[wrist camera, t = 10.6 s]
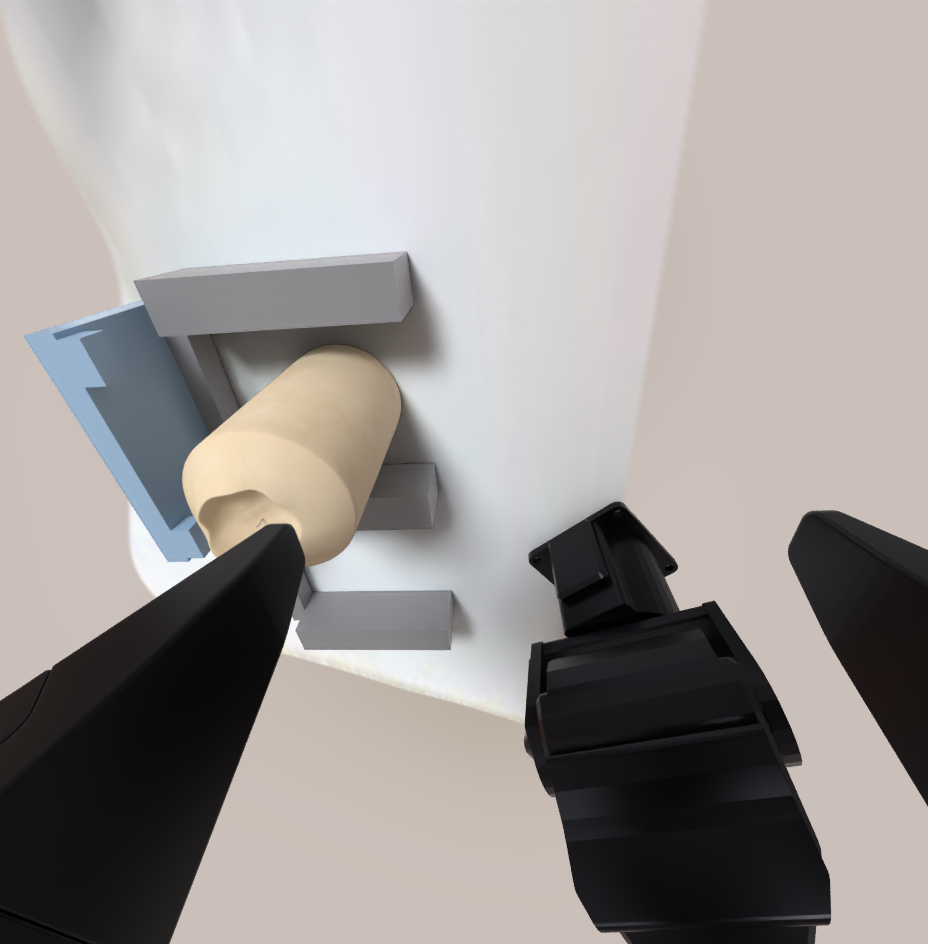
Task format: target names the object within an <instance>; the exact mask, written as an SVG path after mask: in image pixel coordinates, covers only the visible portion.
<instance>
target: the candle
mask: <svg viewBox="0 0 928 944" xmlns="http://www.w3.org/2000/svg"><path fill="white" fill-rule="evenodd" d="M400 414H401V398H400V393H399V390H398V387H397V384H396V382H395V380H394V378H393V377H392V375H391V374H390V372H389V371H388V370H387V368H386V367H385V366H384V365H383V364H382V363H381V362H380V361H379V360H377V359H376V358H375V357H373V356H372V355H370V354H368V353H367V352H365V351H363V350H360V349H358V348H355V347H352V346H347V345H336V344H334V345H326V346H322V347H318V348H316V349H313V350H311V351H309V352H307V353H306V354H304V355H303V356H302V357H300V358H299V359H298V360H296V361H295V362H294V363H293V364H292V365H291V366H289V367H288V368H287V369H286V370H285V371H284V372H282V373H281V374H280V375H279V376H278V377H277V378H275V379H274V380H273V381H272V382H271V383H270V384H268V385H267V386H266V387H265V388H264V389H263V390H261V391H260V392H259V393H258V394H257V395H256V396H254V397H253V398H252V399H251V400H250V401H249V402H247V403H246V404H245V405H244V406H243V407H241V408H240V409H239V410H238V411H237V412H236V413H234V414H233V415H232V416H231V417H230V418H229V419H227V420H226V421H225V422H224V423H223V424H222V425H220V426H219V427H218V428H217V429H216V430H215V431H213V432H212V433H211V434H210V435H209V436H208V437H206V438H205V439H204V440H203V441H202V442H201V443H199V444H198V445H197V446H196V447H195V448H194V449H193V450H192V452H191V453H190V454H189V456H188V458H187V460H186V462H185V465H184V468H183V475H182V483H183V490H184V494H185V497H186V500H187V503H188V505H189V507H190V510H191V512H192V514H193V516H194V518H195V519H196V521H197V523H198V525H199V526H200V528H201V530H202V531H203V533H204V535H205V537H206V539H207V541H208V544H209V547H210V550H211V552H212V553H213V554H214V555H215V556H216V557H219V556H220V555H222V554H223V553H225V552H226V551H228V550H229V549H231V548H232V547H234V546H236V545H237V544H239V543H240V542H242V541H243V540H245V539H246V538H248V537H249V536H251V535H252V534H254V533H255V532H257V531H258V530H260V529H261V528H263V527H264V526H266V525H268V524H275V523H288V524H291V525H292V526H293V527H294V529H295V531H296V533H297V536H298V539H299V541H300V544H301V546H302V549H303V552H304V554H305V567H308V566H313V565H317V564H321V563H324V562H326V561H329V560H331V559H332V558H334V557H336V556H337V555H339V554H340V553H341V552H342V551H344V549H345V548H346V547H347V546H348V545H349V543H350V542H351V540H352V538H353V536H354V534H355V531H356V529H357V526H358V524H359V521H360V519H361V516H362V514H363V511H364V509H365V506H366V504H367V501H368V499H369V496H370V493H371V491H372V488H373V486H374V483H375V481H376V478H377V476H378V473H379V471H380V468H381V466H382V463H383V461H384V458H385V456H386V453H387V451H388V448H389V446H390V443H391V441H392V438H393V436H394V433H395V431H396V428H397V425H398V422H399V419H400Z"/></svg>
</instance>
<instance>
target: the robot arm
mask: <svg viewBox="0 0 928 944" xmlns="http://www.w3.org/2000/svg"><path fill="white" fill-rule="evenodd" d="M616 510H620V511H619V512H615V511H616ZM528 556H529V563H530V564H531V565H532V566H533V567H534V568H535V569H536V570H538V571H539V572H540V573H541V574H542V575H543V576H545V577H546V578H547V579H548V580H549V581H550V582H551V583H553V584H554V585H555V588H556V594H557V598H558V600H559V606H560V612H561V617H562V623H563V629H564V634H565V636H566V638H563V639H559V640H555V641H551V642H547V643H543V642H538V643H534V644H532V646H531V659H529V670H528V685H527V699H526V713H525V730H526V733H525V737H524V745H525V749H526V752H527V753H528V754H529V755H530V756H531V757H532V758H533V759H534V761H535V765H536V768H537V771H538V774H539V777H540V780H541V782H542V784H543V786H544V788H545V790H546V792H547V793H548V794H549V795H550V796H551V797H556V801H557V804H558V808H559V812H560V816H561V820H562V824H563V829H564V834H565V839H566V844H567V849H568V855H569V861H570V866H571V872H572V877H573V883H574V887H575V891H576V893H577V895H578V897H579V899H580V901H581V902H582V904H583V906H584V908H585V909H586V911H587V913H588V915H589V917H590V918H591V920H592V922H593V924H594V925H595V927H596V928H597V929H598V930H599V931H600V932H602V933H607V932H608V933H609V932H620V933H621V934H622V936H623V938H624V939H625V940H626V942H627V943H628V944H815V934H816V926H817V925H818V926H819V925H829V924H830V921H831V898H830V878H829V873H828V870H827V868H826V866H825V864H824V862H823V860H822V856H821V848H820V845H819V842H818V839H817V837H816V835H815V832H814V830H813V828H812V826H811V823H810V821H809V819H808V816H807V814H806V812H805V809H804V807H803V805H802V803H801V800H800V798H799V796H798V794H797V791H796V789H795V787H794V784H793V782H792V780H791V778H790V775H789V773H788V771H787V768H786V767H792V766H800V765H802V758H801V754H800V751H799V748H798V745H797V742H796V739H795V737H794V734H793V732H792V729H791V727H790V725H789V722H788V720H787V718H786V715H785V714H784V711H783V709H782V707H781V705H780V703H779V701H778V699H777V697H776V695H775V693H774V691H773V689H772V687H771V686H770V684H769V682H768V680H767V679H766V677H765V675H764V673H763V672H762V670H761V668H760V667H759V665H758V664H757V662H756V661H755V659H754V658H753V656H752V655H751V653H750V652H749V650H748V649H747V648H746V646H745V644H744V643H743V642H742V640H741V639H740V637H739V636H738V634H737V633H736V631H735V630H734V628H733V627H732V625H731V624H730V622H729V621H728V620H727V618H726V617H725V615H724V614H723V612H722V611H721V609H720V608H719V606H718V605H717V603H716V602H715V601H712V602H707V603H703V604H702V606H699V607H695V608H691V609H687V610H682V611H680V610H679V608H678V606H677V604H676V601H675V599H674V597H673V595H672V593H671V591H670V589H669V586H668V584H667V582H666V580H665V577H666V576H668V575H670V574H672V573H674V572H675V571H676V570H677V569H678V565H677V563H676V561H675V559H674V558H673V557H672V556H671V555H670V554H669V553H668V552H667V551H666V549H665V548H664V547H663V546H662V545H661V544H660V543H659V542H658V541H657V540H656V538H655V537H654V536H653V535H652V534H651V533H650V532H649V531H648V530H647V528H645V526H644V525H643V524H642V523H641V522H640V521H639V520H638V519H637V517H636V516H635V515H634V514H633V513H632V512H631V511H630V510H629V509H628V508H627V506H626V505H625V504H624V503H622V502H614V503H611V504H610V505H608V506H606V507H605V508H603V509H601V510H600V511H598V512H596V513H595V514H593V515H591V516H590V517H588V518H586V519H585V520H583V521H581V522H580V523H578V524H576V525H574V526H573V527H571V528H569V529H568V530H566V531H564V532H563V533H561V534H559V535H558V536H556V537H554V538H553V539H551V540H549V541H548V542H546V543H544V544H543V545H541V546H539V547H538V548H536V549H534V550H533V551H531V552H530V553H529V555H528ZM788 556H789V560H790V563H791V565H792V567H793V569H794V571H795V573H796V575H797V577H798V580H799V581H800V584H801V586H802V588H803V590H804V592H805V594H806V596H807V598H808V600H809V602H810V605H811V607H812V609H813V611H814V613H815V615H816V617H817V619H818V621H819V623H820V625H821V628H822V630H823V632H824V634H825V636H826V637H827V640H828V641H829V644H830V645H831V647H832V649H833V650H834V652H835V654H836V656H837V657H838V659H839V661H840V662H841V664H842V666H843V667H844V669H845V671H846V672H847V674H848V676H849V677H850V679H851V681H852V682H853V684H854V686H855V687H856V689H857V690H858V692H859V694H860V695H861V697H862V699H863V700H864V702H865V704H866V705H867V707H868V709H869V710H870V712H871V714H872V715H873V717H874V718H875V720H876V722H877V723H878V725H879V727H880V728H881V730H882V732H883V733H884V735H885V736H886V738H887V740H888V742H889V743H890V745H891V747H892V748H893V750H894V751H895V753H896V755H897V756H898V758H899V759H900V761H901V763H902V765H903V766H904V768H905V769H906V771H907V773H908V774H909V776H910V778H911V779H912V781H913V783H914V784H915V786H916V788H917V789H918V791H919V793H920V794H921V796H922V797H923V799H924V801H925V802H926V804H927V806H928V550H927V549H924V548H922V547H920V546H917V545H915V544H913V543H911V542H908V541H906V540H904V539H902V538H899V537H897V536H895V535H892V534H890V533H888V532H886V531H883V530H881V529H879V528H876V527H874V526H872V525H869V524H867V523H865V522H863V521H860V520H858V519H856V518H853V517H851V516H849V515H847V514H844V513H842V512H839V511H833V510H831V511H830V510H828V511H811V512H808V513H806V514H805V515H804V516H803V518H802V519H801V521H800V524H799V526H798V528H797V530H796V532H795V534H794V536H793V538H792V540H791V543H790V544H789V548H788ZM535 558H538V559H535ZM668 565H669V566H668ZM304 569H305V554H304V552H303V549H302V546H301V544H300V541H299V539H298V536H297V533H296V531H295V529H294V527H293V526H292V525H291V524H288V523H275V524H268V525H266V526H264V527H263V528H261V529H260V530H258V531H257V532H255V533H254V534H252V535H251V536H249V537H248V538H246V539H245V540H243V541H242V542H240V543H239V544H237V545H236V546H234V547H232V548H231V549H229V550H228V551H226V552H225V553H223V554H222V555H220V556H219V557H217V558H216V559H214V560H213V561H211V562H210V563H208V564H207V565H205V566H204V567H202V568H201V569H199V570H198V571H196V572H195V573H193V574H192V575H190V576H189V577H187V578H186V579H184V580H183V581H181V582H180V583H178V584H176V585H175V586H173V587H172V588H170V589H169V590H167V591H166V592H164V593H163V594H161V595H160V596H158V597H157V598H155V599H154V600H152V601H151V602H149V603H148V604H146V605H145V606H143V607H142V608H140V609H139V610H137V611H136V612H134V613H133V614H131V615H130V616H128V617H127V618H125V619H123V620H122V621H120V622H119V623H117V624H116V625H115V626H113V627H111V628H110V629H108V630H107V631H106V632H104V633H102V634H101V635H99V636H98V637H96V638H95V639H93V640H92V641H90V642H89V643H87V644H86V645H84V646H83V647H81V648H80V649H78V650H77V651H75V652H74V653H72V654H71V655H69V656H68V657H66V658H65V659H63V660H61V661H60V662H58V663H57V664H55V665H54V666H53V667H52V670H46V671H45V672H43V673H42V674H40V675H39V676H37V677H36V678H34V679H33V680H31V681H30V682H28V683H27V684H25V685H24V686H22V687H21V688H19V689H18V690H16V691H15V692H13V693H12V694H10V695H8V696H7V697H5V698H4V699H2V700H1V701H0V944H169V943H170V941H171V938H172V936H173V933H174V930H175V928H176V925H177V923H178V920H179V917H180V914H181V912H182V910H183V907H184V904H185V901H186V899H187V897H188V894H189V891H190V889H191V886H192V884H193V881H194V878H195V876H196V873H197V870H198V868H199V865H200V862H201V860H202V857H203V855H204V852H205V850H206V847H207V844H208V842H209V839H210V837H211V834H212V831H213V829H214V826H215V824H216V821H217V818H218V816H219V813H220V810H221V808H222V805H223V803H224V800H225V797H226V795H227V792H228V790H229V787H230V784H231V782H232V779H233V777H234V774H235V772H236V769H237V766H238V764H239V761H240V758H241V756H242V753H243V751H244V748H245V745H246V742H247V740H248V738H249V735H250V732H251V730H252V727H253V725H254V722H255V719H256V717H257V714H258V711H259V709H260V706H261V704H262V701H263V699H264V696H265V693H266V691H267V688H268V685H269V683H270V680H271V677H272V675H273V673H274V670H275V667H276V665H277V662H278V659H279V657H280V654H281V651H282V649H283V646H284V643H285V640H286V636H287V633H288V630H289V626H290V622H291V618H292V614H293V611H294V607H295V603H296V599H297V596H298V592H299V588H300V584H301V581H302V577H303V573H304Z"/></svg>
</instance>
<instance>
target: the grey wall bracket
mask: <svg viewBox="0 0 928 944" xmlns="http://www.w3.org/2000/svg"><path fill="white" fill-rule="evenodd" d="M134 284H135V286H136V288H137V290H138V292H139V294H140V297H141V299H142V300H140V301H137V302H134V303H130V304H127V305H124V306H120V307H117V308H114V309H110V310H107V311H104V312H100V313H97V314H94V315H90V316H87V317H84V318H80V319H77V320H74V321H70V322H67V323H64V324H60V325H57V326H54V327H50V328H47V329H44V330H40V331H37V332H33V333H30V334H27V335H24V337H25V339H26V340H27V342H28V344H29V345H30V347H31V348H32V350H33V351H34V353H35V355H36V356H37V358H38V359H39V361H40V362H41V364H42V365H43V367H44V369H45V370H46V372H47V373H48V375H49V376H50V378H51V380H52V381H53V383H54V384H55V386H56V387H57V389H58V391H59V392H60V394H61V395H62V397H63V398H64V400H65V401H66V403H67V405H68V406H69V408H70V409H71V411H72V412H73V414H74V416H75V417H76V419H77V420H78V422H79V423H80V425H81V427H82V428H83V430H84V431H85V433H86V434H87V436H88V438H89V439H90V441H91V442H92V444H93V445H94V447H95V448H96V450H97V452H98V453H99V455H100V456H101V458H102V459H103V461H104V463H105V464H106V466H107V467H108V469H109V470H110V472H111V473H112V475H113V477H114V478H115V480H116V481H117V483H118V484H119V486H120V488H121V489H122V491H123V492H124V494H125V495H126V497H127V499H128V500H129V502H130V503H131V505H132V506H133V508H134V510H135V511H136V513H137V514H138V516H139V517H140V519H141V521H142V522H143V524H144V525H145V527H146V528H147V530H148V531H149V533H150V535H151V536H152V538H153V539H154V541H155V542H156V544H157V546H158V547H159V549H160V550H161V552H162V553H163V555H164V557H165V558H166V560H167V561H168V562H189V561H190V560H191V558H204V557H205V556H206V555H207V554H208V552H209V551H210V547H209V544H208V541H207V539H206V537H205V535H204V533H203V531H202V530H201V528H200V526H199V525H198V523H197V521H196V519H195V518H194V516H193V514H192V512H191V510H190V507H189V505H188V503H187V500H186V497H185V494H184V490H183V483H182V475H183V468H184V465H185V462H186V460H187V458H188V456H189V454H190V453H191V452H192V450H193V449H194V448H195V447H196V446H197V445H198V444H199V443H201V442H202V441H203V440H204V439H205V438H206V437H208V436H209V435H210V434H211V433H212V432H213V431H215V430H216V429H217V428H218V427H219V426H220V425H222V424H223V423H224V422H225V421H226V420H227V419H229V418H230V417H231V416H232V415H233V414H234V413H236V412H237V411H238V410H239V409H240V408H239V406H238V403H237V401H236V398H235V396H234V393H233V391H232V388H231V386H230V383H229V381H228V378H227V376H226V373H225V371H224V368H223V366H222V363H221V361H220V358H219V356H218V353H217V351H216V348H215V346H214V343H213V341H212V338H211V336H210V334H216V333H232V332H247V331H263V330H279V329H295V328H310V327H326V326H342V325H358V324H374V323H389V322H402V320H403V319H404V318H405V316H406V315H407V313H408V312H409V310H410V309H411V307H412V306H413V305H414V301H413V294H412V286H411V279H410V271H409V263H408V256H407V252H395V253H382V254H369V255H356V256H343V257H330V258H317V259H304V260H291V261H278V262H265V263H252V264H239V265H226V266H214V267H201V268H188V269H181V270H177V271H173V272H168V273H164V274H160V275H156V276H152V277H147V278H143V279H139V280H135V281H134ZM438 494H439V492H438V485H437V477H436V470H435V463H413V464H385V465H382V466H381V468H380V471H379V473H378V476H377V478H376V481H375V483H374V486H373V488H372V491H371V493H370V496H369V499H368V501H367V504H366V506H365V509H364V511H363V514H362V516H361V519H360V521H359V524H358V526H357V529H356V530H401V529H433V523H434V517H435V511H436V505H437V499H438ZM453 616H454V607H453V599H452V592H451V591H372V592H312V589H311V587H310V584H309V582H308V579H307V577H306V574H305V572H304V573H303V577H302V581H301V584H300V588H299V592H298V596H297V599H296V603H295V607H294V611H293V614H292V617H293V619H294V620H300V621H299V624H298V626H297V628H296V632H297V634H298V637H299V639H300V641H301V643H302V645H303V647H304V649H305V650H451V639H452V627H453Z"/></svg>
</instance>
